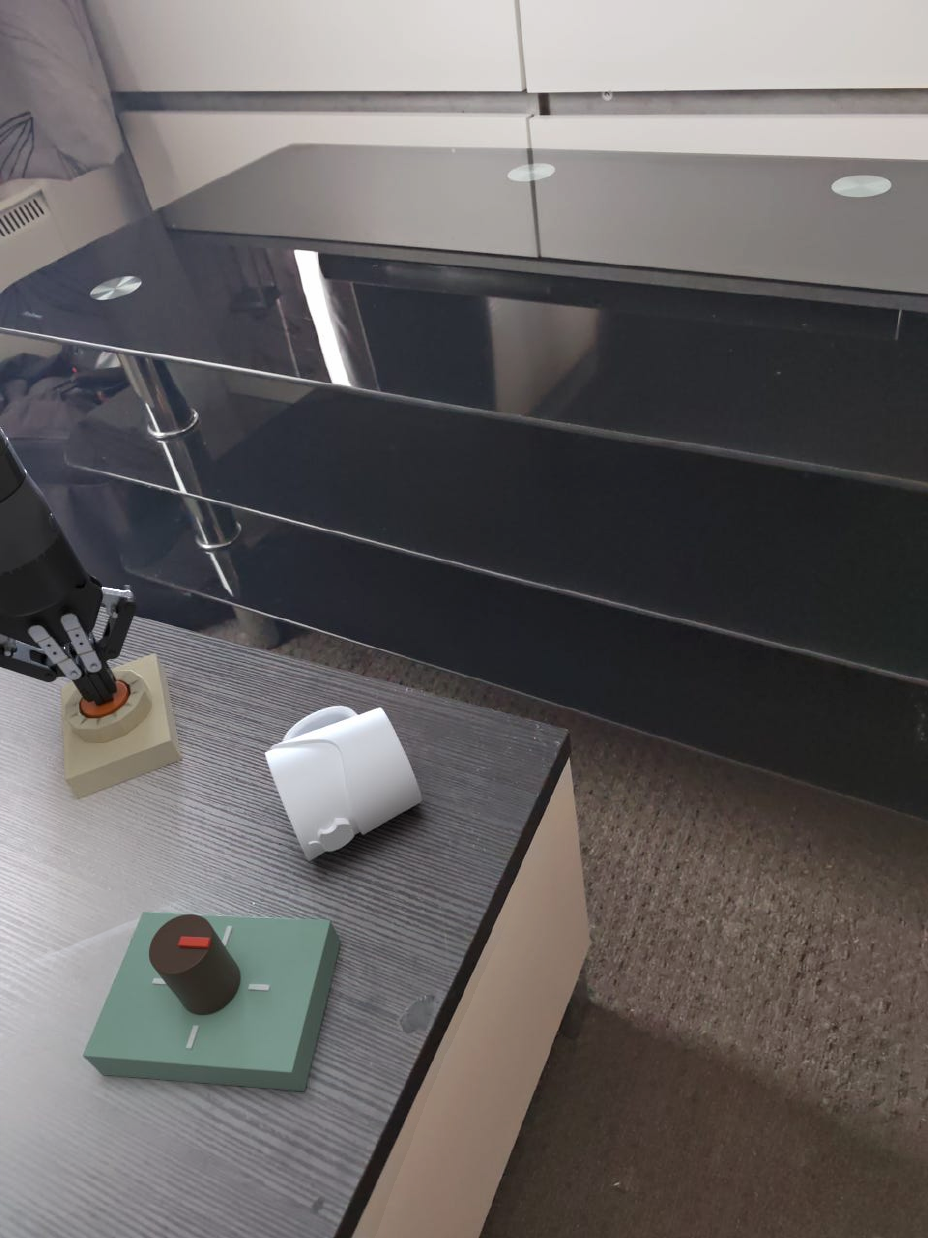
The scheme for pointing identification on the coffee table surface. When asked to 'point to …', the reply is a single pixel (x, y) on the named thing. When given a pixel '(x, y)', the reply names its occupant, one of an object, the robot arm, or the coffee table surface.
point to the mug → (341, 776)
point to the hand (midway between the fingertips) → (104, 696)
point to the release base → (120, 731)
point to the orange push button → (108, 707)
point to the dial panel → (239, 1032)
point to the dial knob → (194, 964)
